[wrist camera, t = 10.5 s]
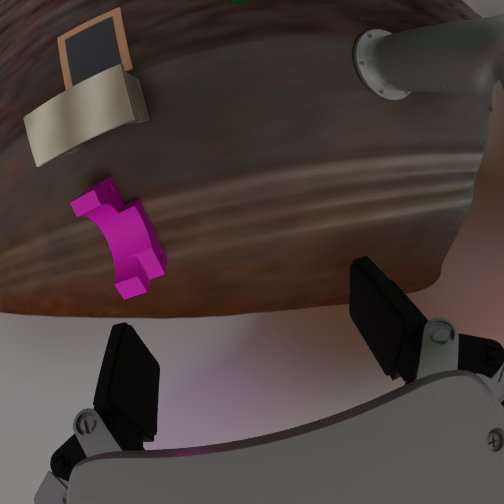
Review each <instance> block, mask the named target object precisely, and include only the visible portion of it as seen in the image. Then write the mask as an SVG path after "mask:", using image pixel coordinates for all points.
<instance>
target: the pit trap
mask: <svg viewBox="0 0 504 504" xmlns="http://www.w3.org/2000/svg"><path fill="white" fill-rule="evenodd" d="M57 39H58V47H59V54H60V61H61V67H62V72H63V78H64V83H65V88H66V90H68V89H69V88H71V87H73V86H75V85H77V84H79V83H80V82H82V81H84V80H86V79H88V78H90V77H92V76H94V75H96V74H98V73H101V72H103V71H105V70H107V69H109V68H112V67H114V66H116V65H119V64H122V65H123V66H124V68H125V72H127V71H129V70H132V69H133V67H132V62H131V58H130V54H129V49H128V44H127V40H126V35H125V30H124V25H123V19H122V14H121V8H120V7H119V8H116V9H114V10H112V11H109V12H107V13H105V14H103V15H100V16H98V17H96V18H94V19H92V20H90V21H88V22H86V23H84V24H82V25H80V26H78V27H76V28H74V29H72V30H71V31H69V32H67V33H65V34H64V35H62V36H60V37H58V38H57Z"/></svg>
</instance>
